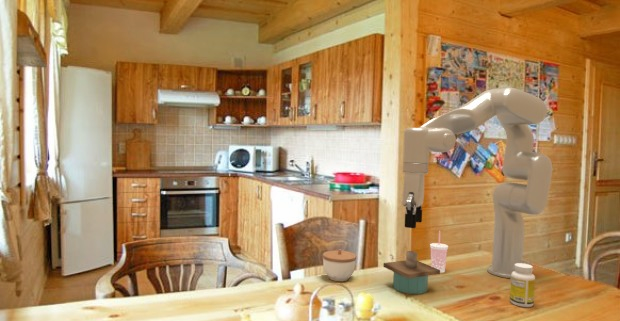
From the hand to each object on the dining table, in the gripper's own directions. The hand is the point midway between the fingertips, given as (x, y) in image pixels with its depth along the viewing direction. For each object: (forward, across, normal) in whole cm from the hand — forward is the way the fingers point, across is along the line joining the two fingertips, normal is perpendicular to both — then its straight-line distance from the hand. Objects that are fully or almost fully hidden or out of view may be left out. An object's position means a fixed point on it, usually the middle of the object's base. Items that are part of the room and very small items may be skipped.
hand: (413, 224), depth 135 cm
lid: (+14, 0, 0) cm, 14 cm away
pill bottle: (+20, -2, +31) cm, 37 cm away
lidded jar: (+20, +2, -23) cm, 30 cm away
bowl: (+20, 0, 0) cm, 20 cm away
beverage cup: (+20, -23, +5) cm, 31 cm away
